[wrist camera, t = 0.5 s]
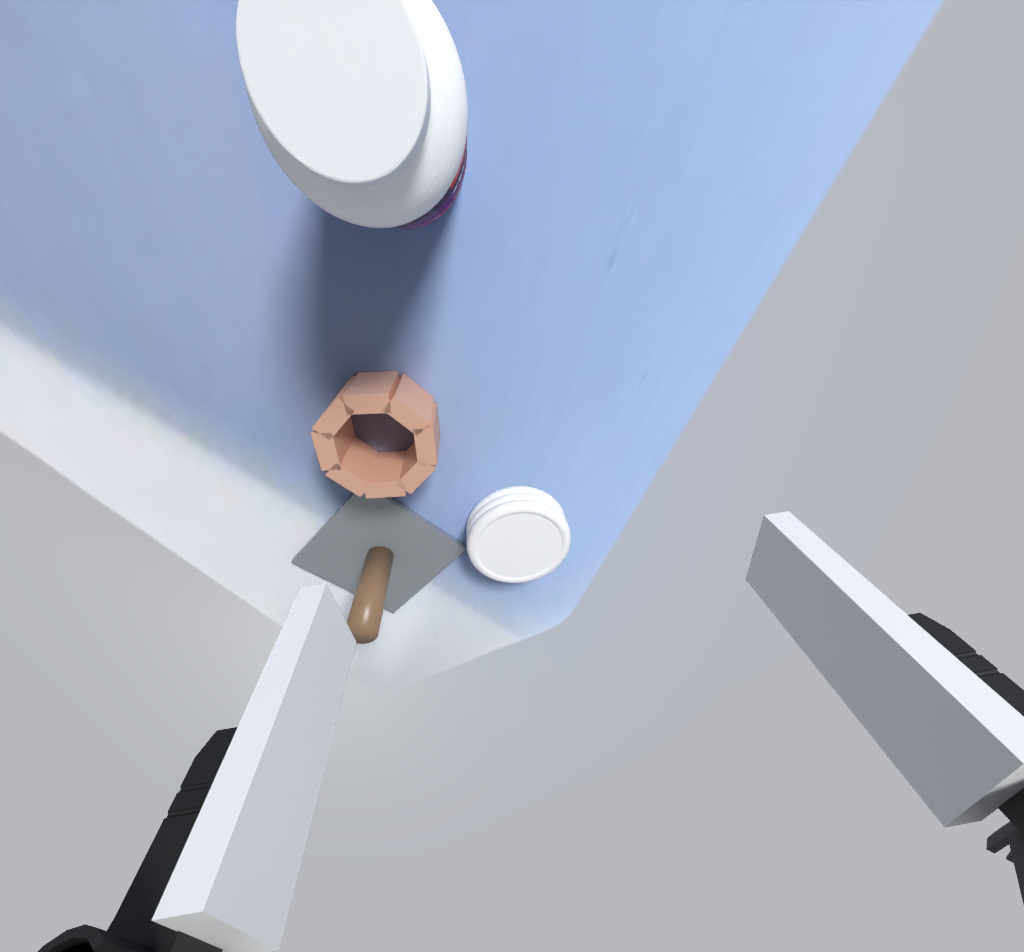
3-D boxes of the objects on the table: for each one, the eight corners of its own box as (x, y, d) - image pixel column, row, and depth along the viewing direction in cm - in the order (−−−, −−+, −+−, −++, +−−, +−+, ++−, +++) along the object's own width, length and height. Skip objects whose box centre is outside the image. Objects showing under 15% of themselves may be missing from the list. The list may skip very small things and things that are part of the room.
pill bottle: (480, 212, 27) (495, 202, 14) (361, 240, 27) (277, 254, 14) (445, 40, 22) (425, -184, 10) (303, 75, 22) (115, -106, 10)
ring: (312, 424, 33) (290, 453, 29) (374, 348, 30) (360, 368, 26) (397, 481, 37) (389, 515, 32) (459, 418, 34) (458, 445, 30)
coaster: (581, 529, 42) (590, 552, 39) (504, 575, 45) (507, 600, 42) (529, 465, 37) (534, 485, 34) (445, 519, 40) (444, 543, 37)
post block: (293, 558, 40) (250, 643, 32) (365, 480, 36) (337, 554, 28) (394, 608, 45) (379, 692, 37) (465, 545, 41) (467, 623, 33)
